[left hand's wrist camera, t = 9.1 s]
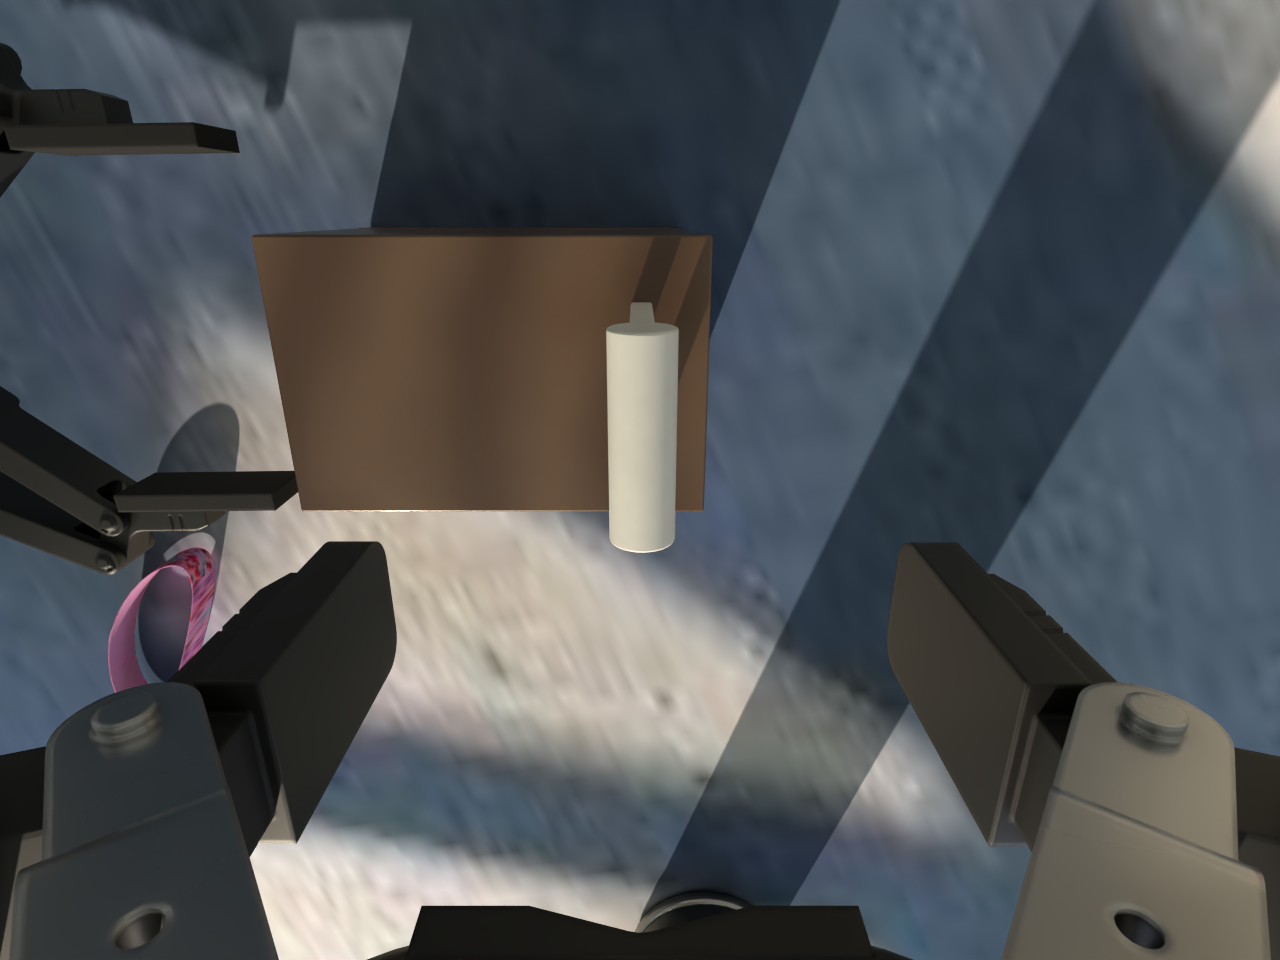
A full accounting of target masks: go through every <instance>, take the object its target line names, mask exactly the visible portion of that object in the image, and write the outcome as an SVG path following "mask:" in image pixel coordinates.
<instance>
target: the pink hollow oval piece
mask: <svg viewBox="0 0 1280 960" xmlns="http://www.w3.org/2000/svg"><path fill="white" fill-rule="evenodd" d="M166 567H178V568H181V569H183V570H184V571H185V572H186V573H187V575H188V577H189V579H190V582H191V587H192V608H191V616H190V622H189V628H188V633H187V638H186V642H185V647H184V651H183V655H182V659H181V663H180V667H179V670H180V669H181V668H182V667H183V666H184V665H185V664H186V663H187V662H188V661H189V660H190V659H191V658H192V657H193V656H194V655H195V654H196V653H197V652H198V651H199V650H200V649H201V647H202V643H203V640H204V636H205V632H206V628H207V624H208V619H209V615H210V610H211V605H212V600H213V593H214V585H215V567H214V562H213V559H212V557H211V555H210V554H209V552H208V551H206V550H205V549H202V548H190V549H187V550H184V551H182V552H180V553H178V554H176V555H175V556H173V557H172V558H171V559H169V560H168V561H167V562H165V563H164V564H163V565H161V566H160V567H158V568H157V569H156V570H154V571H153V572H152V573H150V574H149V575H148V576H146V577H145V578H144V579H143V580H142V581H140V582H139V583H138V584H137V585H136V586H135V588H134V589H133V590H132V591H131V592H130V594H129V595H128V596H127V598H126V599H125V601H124V603H123V604H122V606H121V608H120V610H119V612H118V614H117V616H116V619H115V621H114V624H113V628H112V629H111V632H110V636H109V652H108V661H109V671H110V677H111V681H112V684H113V688H114V690H115V693H116V692H119V691H122V690H125V689H129V688H132V687H136V686H140V685H145V684H148V683H147V682H146V680H145V679H144V677H143V675H142V672H141V670H140V667H139V664H138V661H137V657H136V652H135V643H134V631H135V621H136V616H137V612H138V608H139V605H140V602H141V599H142V597H143V595H144V593H145V591H146V589H147V587H148V585H149V584H150V582H151V580H152V579H153V578H154V576H155V575H156V574H157V572H158V571H159V570H160V569H163V568H166Z"/></svg>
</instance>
